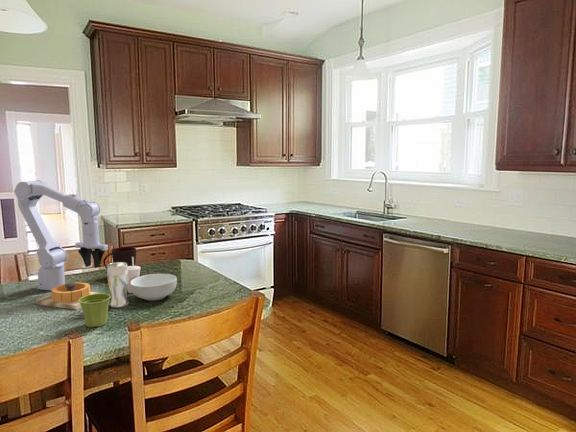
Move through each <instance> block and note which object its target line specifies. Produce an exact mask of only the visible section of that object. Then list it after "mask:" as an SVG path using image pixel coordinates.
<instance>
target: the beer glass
mask: <svg viewBox="0 0 576 432" xmlns="http://www.w3.org/2000/svg"><path fill="white" fill-rule="evenodd" d="M106 266H107V268H108V269H106V270H107V273H106V274H107V276H106V277H107V283H108V288H109V290H110V296H111V298H110V299H111V300H110V307H112V308H123V307H124V308H125V307H127V306H128V305H129V302H130V301H129V298H128V288H127V287H128V267H127V263H125V262H115V263H113V262H111V263H108V264H106Z"/></svg>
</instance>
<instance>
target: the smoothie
mask: <svg viewBox="0 0 576 432" xmlns="http://www.w3.org/2000/svg"><path fill="white" fill-rule="evenodd" d="M141 270H142V269H141V266H138V265H135V266H134V257H132V266H128V287H127V293H129V294H133V292H132V290H131V286H130V282H131V281H132V280H133V279H135V278H137V277H140V273H141Z"/></svg>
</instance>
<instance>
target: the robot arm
mask: <svg viewBox="0 0 576 432" xmlns="http://www.w3.org/2000/svg"><path fill="white" fill-rule="evenodd" d="M13 193H14V194H15V196H16V199H17V205H18V209H19V211H20V213H21V214H22V216H23V218H24V220H25V222H26V224H27V226H28V227H29V229H30V232H31V234H32V235H33V237H34V240H35V241H36V244H37V246H38V249H37V251H36V255H37V257H38V259H37V260H38V263H39V265H40V267H39V269H38V271H37V280H38V281H37V282H38V287H36V289H37V290H41V291H42V290H45V291H50V292H51V290H52V289H53V288H54V287H56V286H59V285H62V284H66V278H65V277H66V276H65V275H66V274H65V262H66V260H67V259H68V253H67V251H66V250H65V249H64V248H63V247H62V246H61V244H60V243H58V242H56V241H54V239H53V237H52V235H51V233H50V230H49V229H48V228H47V226H46V223H45V222H44V219H43V217H42V215H41V214H40V212H39V210H38V208H37V204H38V203H39V201H40V200H41V198H42V197H43V196H46V197H47V198H51V199H53V200H54V201H55V200H56V201H58V202H60V203H62V205H63V207H64V208H66V209H68V210H69V211H70V210H71V211H73V212H74V213H77V214H78V216H79V217H80V220H81V228H82V242H79V241H78V242H76V243H74V246H75V247H74V248H75V249H78V248H79V249H78V250H77V251H78V254H79V255H80V256H81V258H82V261H83V263H84V266H85V268H88V267H91V265H92V258H93V266H94V267H93V268H95V269H98V268H100V267H101V263H102V259H103V255H104V254H105V252H106V251H108V250H109V245H108V244H104V243H101V242H100V236H99V232H100V231H99V220H98V219H99V217H98V216H99V215H100V212H101V208H100V205H99V204H98V203H96V202H95V201H88V199H83V198H81V197H80V196H78V194H76V193H68V194H66V193H65V192H62V191H60V190H58V189H56V188H55V187H52V186H51V185H49V184H48V183H47V182H43V181H42V180H41V179H40V180H39V179H37V180H29V181H20V182H18V183H17V184H16V186H15V188H14V190H13Z"/></svg>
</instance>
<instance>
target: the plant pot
mask: <svg viewBox="0 0 576 432" xmlns="http://www.w3.org/2000/svg"><path fill="white" fill-rule="evenodd" d="M99 293H100V294H91V295H87V296H84V297H81V298H80V299H79V300H78V301H79V303H80V304H81V309H82V313H83V317H84V323H85V325H86V327H87V328H94V327H103V326H104V325H106V324H107V321H108V315H109V304H110V301H111V300H110V299H111V294H108V293H104V292H99ZM103 293H104V294H103Z"/></svg>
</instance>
